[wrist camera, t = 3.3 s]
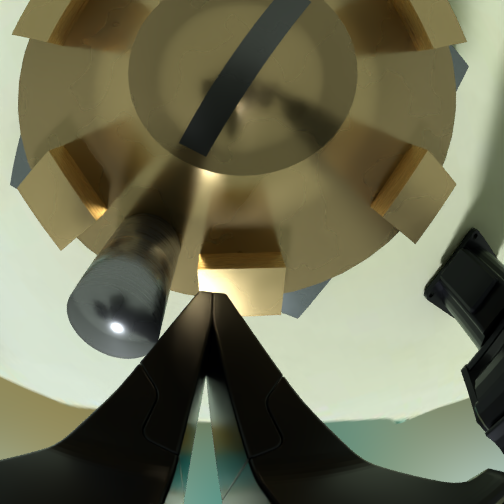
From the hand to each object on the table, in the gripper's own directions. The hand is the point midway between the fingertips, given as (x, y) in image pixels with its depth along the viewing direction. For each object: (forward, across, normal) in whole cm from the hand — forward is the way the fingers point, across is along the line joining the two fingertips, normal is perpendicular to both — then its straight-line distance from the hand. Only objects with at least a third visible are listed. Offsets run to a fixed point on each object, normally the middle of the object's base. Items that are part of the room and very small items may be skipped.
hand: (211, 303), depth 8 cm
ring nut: (+5, 0, -6) cm, 8 cm away
